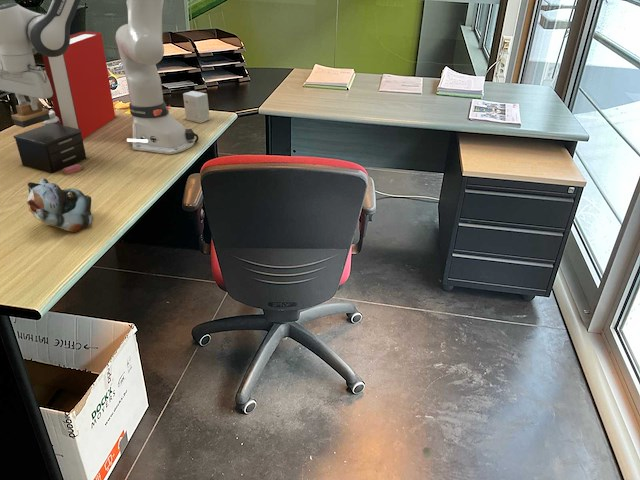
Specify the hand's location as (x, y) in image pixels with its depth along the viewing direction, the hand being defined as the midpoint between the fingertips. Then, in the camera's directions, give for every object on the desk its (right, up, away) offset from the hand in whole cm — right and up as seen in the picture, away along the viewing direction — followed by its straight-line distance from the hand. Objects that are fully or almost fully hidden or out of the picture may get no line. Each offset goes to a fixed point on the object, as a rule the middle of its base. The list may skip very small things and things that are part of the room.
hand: (29, 108), depth 167 cm
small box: (+41, +7, +49) cm, 64 cm away
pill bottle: (-4, -4, +26) cm, 27 cm away
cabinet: (+4, -15, +8) cm, 18 cm away
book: (+3, +2, +38) cm, 39 cm away
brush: (0, -4, +2) cm, 4 cm away
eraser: (+12, -19, +2) cm, 23 cm away
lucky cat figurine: (+24, -37, -26) cm, 51 cm away
